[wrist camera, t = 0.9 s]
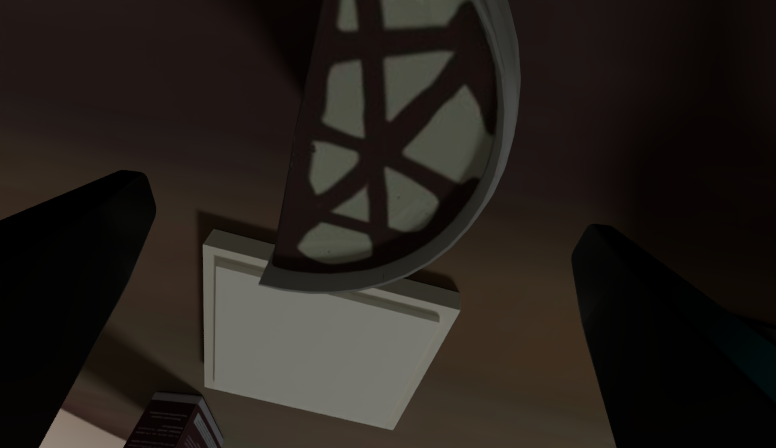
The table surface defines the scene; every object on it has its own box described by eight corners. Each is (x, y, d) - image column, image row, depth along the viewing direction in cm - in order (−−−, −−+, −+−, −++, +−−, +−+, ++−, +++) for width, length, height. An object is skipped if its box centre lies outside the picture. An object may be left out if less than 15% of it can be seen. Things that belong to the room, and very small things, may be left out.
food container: (430, 192, 23) (425, 342, 15) (320, 157, 22) (256, 295, 14) (548, -71, 16) (660, -46, 8) (390, -135, 15) (336, -178, 7)
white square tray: (459, 292, 27) (460, 316, 26) (394, 413, 37) (392, 436, 35) (213, 228, 26) (199, 249, 25) (212, 370, 36) (201, 392, 34)
